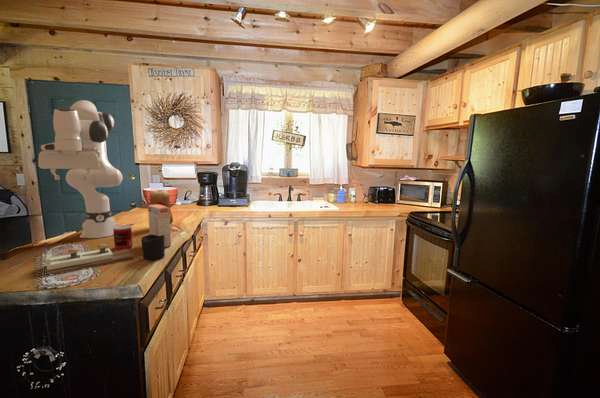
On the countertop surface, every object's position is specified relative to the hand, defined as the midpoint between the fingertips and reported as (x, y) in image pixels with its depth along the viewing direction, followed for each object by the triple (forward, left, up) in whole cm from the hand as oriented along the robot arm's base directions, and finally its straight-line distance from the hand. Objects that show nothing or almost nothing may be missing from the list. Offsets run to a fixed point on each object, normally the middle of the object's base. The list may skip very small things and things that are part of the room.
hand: (72, 179), depth 119 cm
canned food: (-5, +18, -36) cm, 40 cm away
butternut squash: (-35, +44, -36) cm, 67 cm away
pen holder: (+19, +26, -36) cm, 48 cm away
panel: (+8, 0, -34) cm, 35 cm away
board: (+8, +4, -36) cm, 37 cm away
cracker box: (+1, +34, -36) cm, 49 cm away
